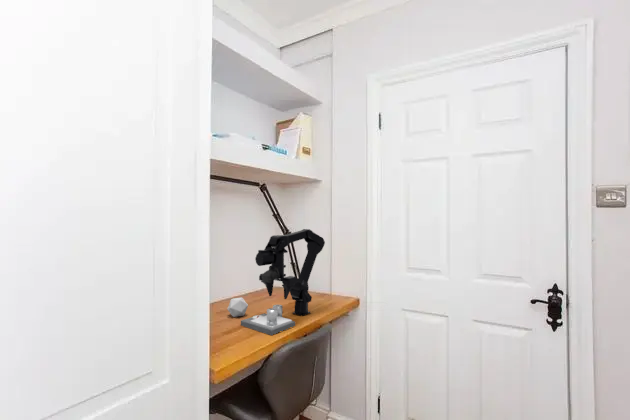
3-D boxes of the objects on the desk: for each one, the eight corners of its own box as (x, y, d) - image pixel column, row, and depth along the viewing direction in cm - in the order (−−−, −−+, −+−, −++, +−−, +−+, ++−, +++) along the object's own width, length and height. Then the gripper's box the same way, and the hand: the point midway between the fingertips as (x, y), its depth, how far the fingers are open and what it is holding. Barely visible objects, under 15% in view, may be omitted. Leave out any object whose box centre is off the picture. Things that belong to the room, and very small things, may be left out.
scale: (264, 317, 153) (264, 311, 153) (295, 326, 142) (295, 319, 142) (240, 325, 142) (240, 318, 142) (271, 335, 130) (271, 328, 130)
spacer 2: (277, 316, 155) (277, 303, 155) (284, 318, 152) (284, 305, 152) (270, 319, 151) (270, 305, 151) (277, 321, 148) (277, 307, 148)
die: (244, 313, 162) (231, 297, 162) (254, 307, 157) (242, 290, 157) (233, 324, 155) (220, 307, 155) (243, 318, 150) (230, 300, 150)
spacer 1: (272, 321, 139) (272, 307, 139) (279, 324, 136) (279, 309, 136) (264, 324, 135) (264, 309, 135) (271, 326, 132) (272, 311, 132)
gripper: (250, 263, 149) (250, 298, 149) (281, 267, 138) (281, 305, 138) (267, 260, 158) (267, 293, 158) (297, 264, 147) (298, 299, 147)
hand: (277, 297), depth 150 cm, fingers open, 9 cm apart
